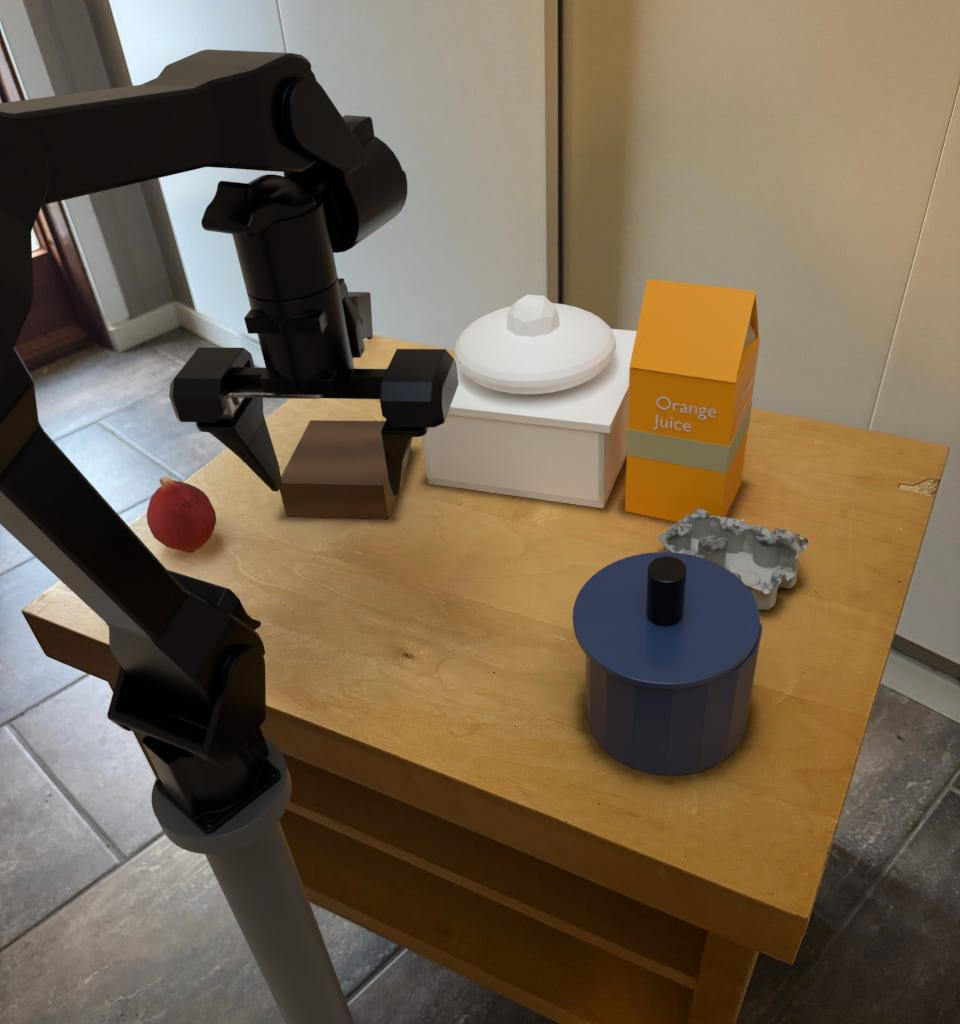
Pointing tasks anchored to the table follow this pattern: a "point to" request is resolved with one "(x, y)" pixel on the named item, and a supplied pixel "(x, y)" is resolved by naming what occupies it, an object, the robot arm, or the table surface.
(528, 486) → the white box with dome
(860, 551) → the table surface
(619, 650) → the lid
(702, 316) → the orange juice
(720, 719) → the pot
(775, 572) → the egg carton
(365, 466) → the block
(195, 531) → the onion
